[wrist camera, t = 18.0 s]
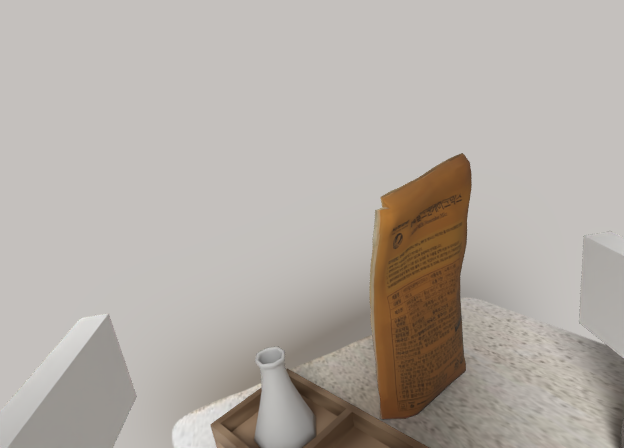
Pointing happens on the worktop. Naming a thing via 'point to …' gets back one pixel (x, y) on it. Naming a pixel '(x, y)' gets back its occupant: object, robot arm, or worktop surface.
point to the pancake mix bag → (419, 287)
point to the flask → (281, 406)
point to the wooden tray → (329, 423)
